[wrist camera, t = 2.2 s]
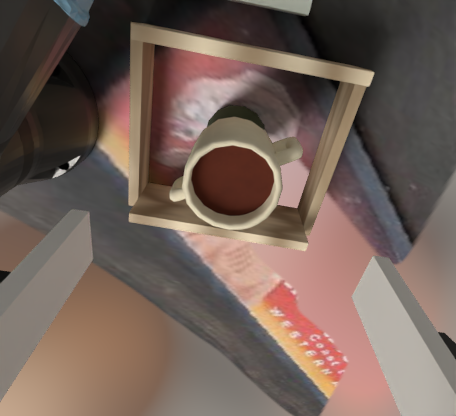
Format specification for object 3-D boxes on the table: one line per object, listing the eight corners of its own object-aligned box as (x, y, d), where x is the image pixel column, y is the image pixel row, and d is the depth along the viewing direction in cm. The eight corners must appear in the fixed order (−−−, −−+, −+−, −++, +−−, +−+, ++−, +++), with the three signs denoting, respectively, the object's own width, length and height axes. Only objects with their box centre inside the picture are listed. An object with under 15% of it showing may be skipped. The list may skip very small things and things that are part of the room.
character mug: (202, 179, 35) (184, 248, 24) (174, 121, 32) (138, 170, 21) (294, 146, 33) (322, 206, 21) (274, 80, 29) (294, 109, 18)
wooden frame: (139, 188, 36) (118, 220, 30) (144, 23, 27) (117, 20, 21) (303, 216, 37) (314, 252, 31) (356, 66, 28) (387, 75, 22)
